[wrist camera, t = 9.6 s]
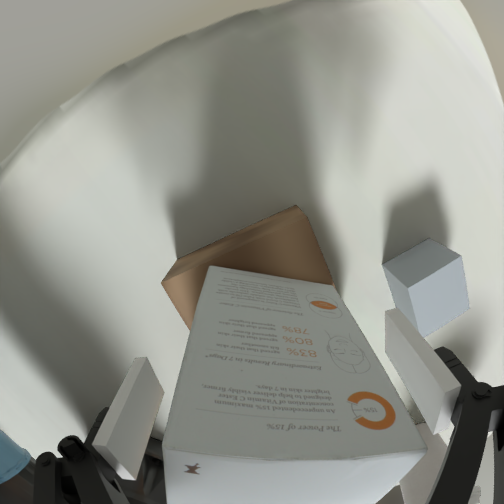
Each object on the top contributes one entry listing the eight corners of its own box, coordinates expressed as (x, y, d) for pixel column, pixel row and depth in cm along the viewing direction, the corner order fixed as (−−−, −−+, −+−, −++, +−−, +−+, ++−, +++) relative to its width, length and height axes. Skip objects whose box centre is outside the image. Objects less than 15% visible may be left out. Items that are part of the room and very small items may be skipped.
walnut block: (234, 354, 27) (230, 391, 22) (178, 258, 24) (160, 283, 19) (339, 311, 25) (355, 344, 20) (295, 204, 23) (307, 216, 18)
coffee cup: (378, 466, 33) (404, 547, 18) (380, 431, 30) (417, 529, 16) (436, 443, 32) (472, 516, 18) (447, 404, 29) (497, 487, 15)
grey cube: (396, 310, 25) (420, 339, 20) (381, 264, 24) (407, 288, 19) (440, 284, 24) (469, 308, 20) (428, 237, 23) (461, 255, 18)
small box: (196, 347, 20) (162, 522, 8) (208, 262, 18) (155, 445, 6) (309, 362, 21) (353, 525, 9) (336, 283, 19) (435, 447, 7)
